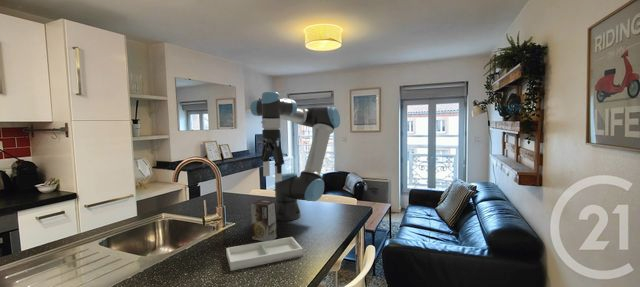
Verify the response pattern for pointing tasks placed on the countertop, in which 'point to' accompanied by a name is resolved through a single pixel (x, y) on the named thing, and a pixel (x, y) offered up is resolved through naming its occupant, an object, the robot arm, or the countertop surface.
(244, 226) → the countertop surface
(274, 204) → the coffee box
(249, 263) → the cell crate
